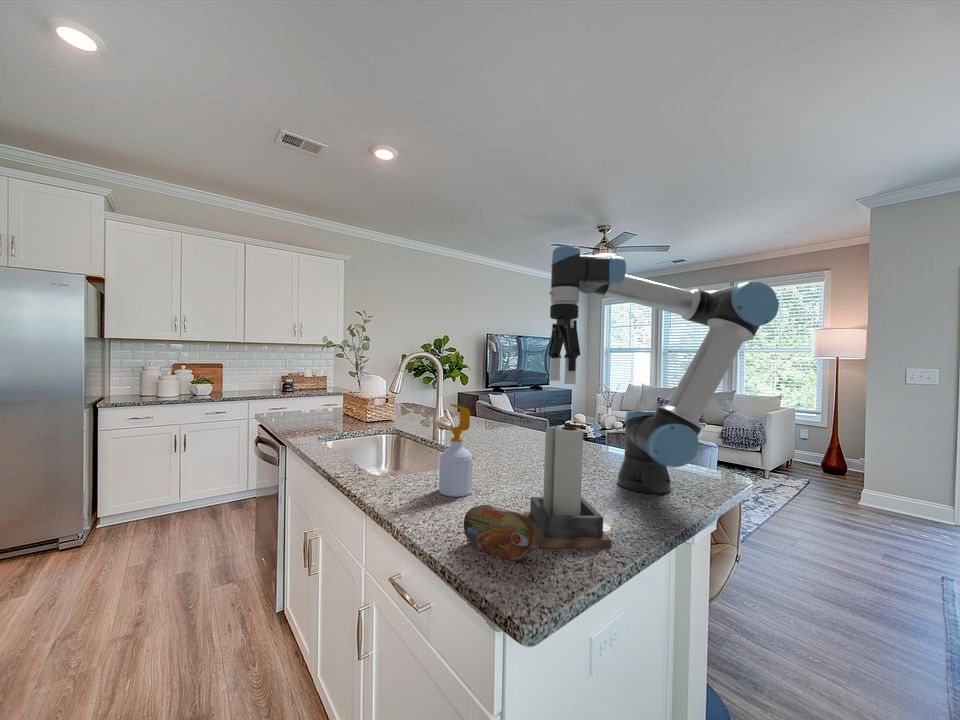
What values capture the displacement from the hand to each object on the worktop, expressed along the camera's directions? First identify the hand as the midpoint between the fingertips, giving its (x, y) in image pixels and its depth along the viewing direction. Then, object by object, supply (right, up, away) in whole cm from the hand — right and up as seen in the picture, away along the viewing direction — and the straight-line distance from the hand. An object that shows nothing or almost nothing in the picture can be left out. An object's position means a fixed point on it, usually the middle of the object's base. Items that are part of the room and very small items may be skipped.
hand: (561, 382), depth 109 cm
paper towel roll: (-4, -31, -21) cm, 37 cm away
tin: (-19, -32, -31) cm, 48 cm away
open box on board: (-4, -32, -21) cm, 38 cm away
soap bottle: (-29, -31, +2) cm, 43 cm away
